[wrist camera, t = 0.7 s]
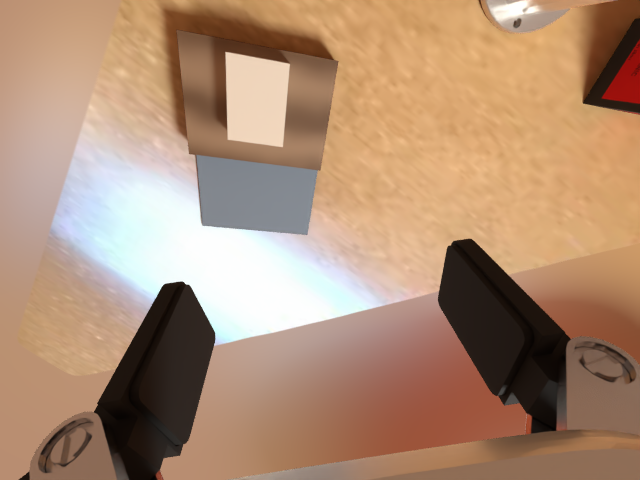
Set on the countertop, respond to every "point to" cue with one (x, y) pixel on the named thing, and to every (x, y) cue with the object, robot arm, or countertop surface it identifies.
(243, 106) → the block
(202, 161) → the mat
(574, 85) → the countertop surface
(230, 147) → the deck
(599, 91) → the cleaning product box
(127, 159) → the countertop surface
